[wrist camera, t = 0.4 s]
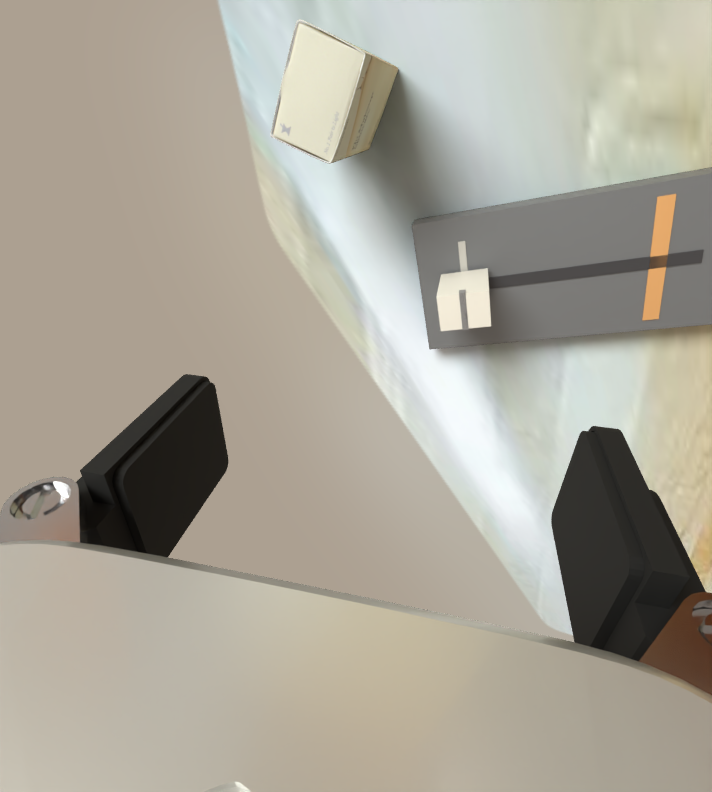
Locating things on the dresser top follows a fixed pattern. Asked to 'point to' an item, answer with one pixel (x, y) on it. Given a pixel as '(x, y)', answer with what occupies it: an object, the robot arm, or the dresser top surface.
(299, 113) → the skincare box
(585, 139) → the dresser top surface
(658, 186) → the fader board
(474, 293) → the fader tab
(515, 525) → the dresser top surface
